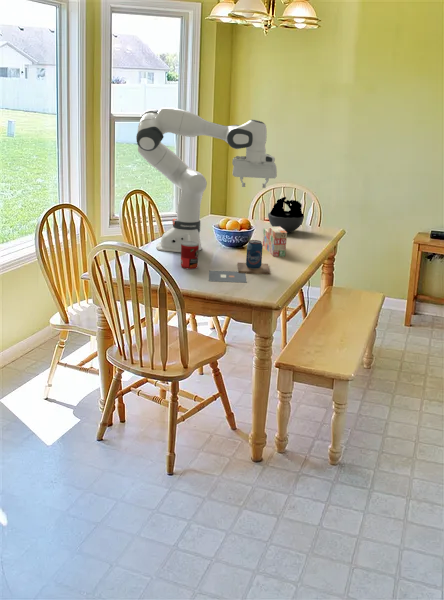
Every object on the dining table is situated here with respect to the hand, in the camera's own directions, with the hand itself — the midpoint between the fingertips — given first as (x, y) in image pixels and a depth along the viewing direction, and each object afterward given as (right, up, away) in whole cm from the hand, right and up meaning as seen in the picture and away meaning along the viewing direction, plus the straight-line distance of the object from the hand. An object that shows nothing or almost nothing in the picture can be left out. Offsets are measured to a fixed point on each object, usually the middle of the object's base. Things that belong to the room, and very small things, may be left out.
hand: (253, 187), depth 314 cm
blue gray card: (-12, -42, -19) cm, 47 cm away
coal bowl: (+21, -14, +69) cm, 74 cm away
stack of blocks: (+11, -28, +28) cm, 41 cm away
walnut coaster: (0, -38, -6) cm, 39 cm away
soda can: (0, -37, -7) cm, 38 cm away
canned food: (-29, -37, -7) cm, 48 cm away
